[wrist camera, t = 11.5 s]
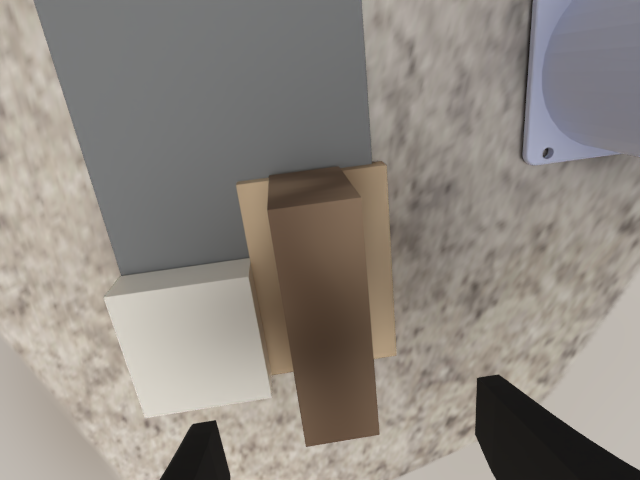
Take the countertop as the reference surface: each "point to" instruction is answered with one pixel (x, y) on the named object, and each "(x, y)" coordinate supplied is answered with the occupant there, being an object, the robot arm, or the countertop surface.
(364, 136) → the mat
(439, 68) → the countertop surface
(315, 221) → the brown rectangular block
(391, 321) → the trivet
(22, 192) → the countertop surface
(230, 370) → the tile
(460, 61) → the countertop surface
